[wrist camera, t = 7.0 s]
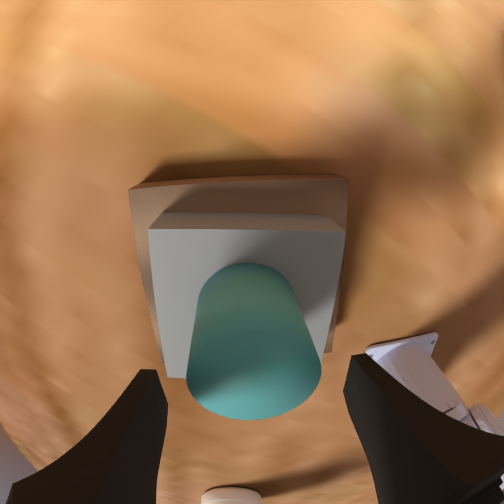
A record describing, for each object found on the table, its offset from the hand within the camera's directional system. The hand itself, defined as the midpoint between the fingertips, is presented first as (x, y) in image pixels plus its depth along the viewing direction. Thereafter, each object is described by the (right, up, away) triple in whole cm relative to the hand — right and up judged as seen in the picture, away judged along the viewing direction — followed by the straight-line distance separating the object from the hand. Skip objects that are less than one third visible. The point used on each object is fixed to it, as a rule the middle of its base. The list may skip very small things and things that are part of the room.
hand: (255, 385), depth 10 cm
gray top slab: (-1, +3, +7) cm, 8 cm away
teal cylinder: (0, +2, +4) cm, 5 cm away
